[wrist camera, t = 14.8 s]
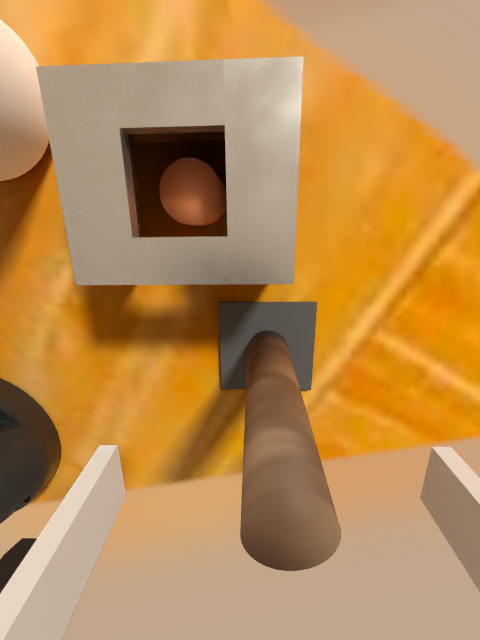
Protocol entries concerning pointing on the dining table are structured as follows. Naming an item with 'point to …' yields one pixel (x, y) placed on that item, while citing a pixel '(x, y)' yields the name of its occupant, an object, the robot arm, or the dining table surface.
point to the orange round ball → (192, 192)
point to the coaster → (265, 316)
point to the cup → (19, 108)
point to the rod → (282, 467)
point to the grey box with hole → (176, 126)
